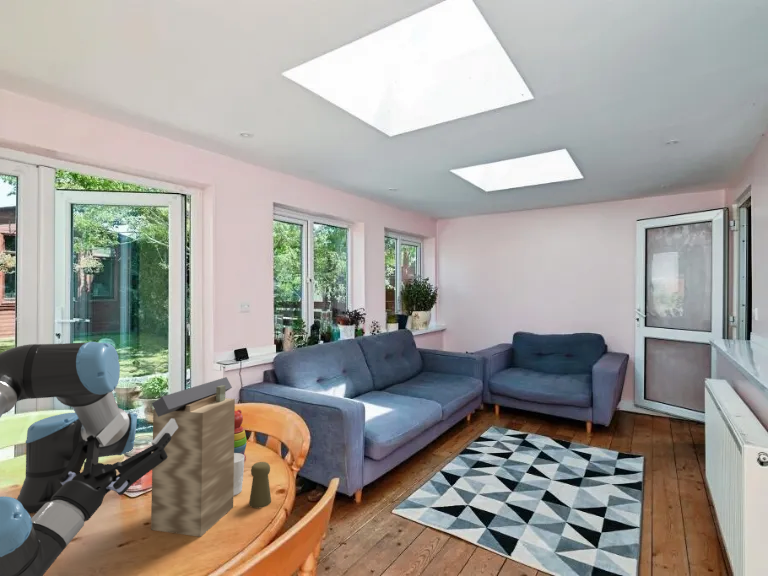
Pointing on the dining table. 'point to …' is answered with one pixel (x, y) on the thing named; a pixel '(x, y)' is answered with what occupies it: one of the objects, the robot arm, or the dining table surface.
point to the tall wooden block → (195, 467)
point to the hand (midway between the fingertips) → (148, 420)
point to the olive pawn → (260, 485)
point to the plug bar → (188, 396)
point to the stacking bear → (239, 434)
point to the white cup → (238, 473)
